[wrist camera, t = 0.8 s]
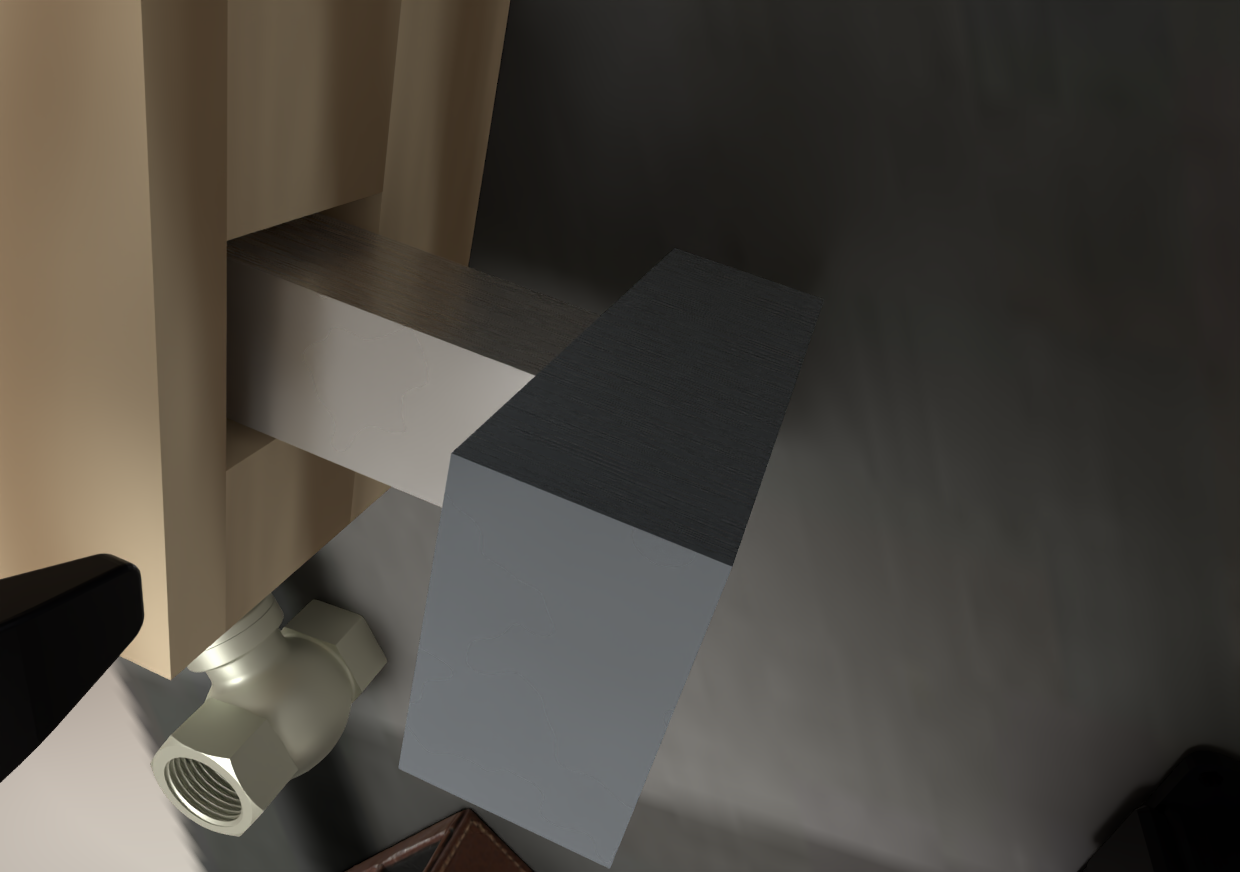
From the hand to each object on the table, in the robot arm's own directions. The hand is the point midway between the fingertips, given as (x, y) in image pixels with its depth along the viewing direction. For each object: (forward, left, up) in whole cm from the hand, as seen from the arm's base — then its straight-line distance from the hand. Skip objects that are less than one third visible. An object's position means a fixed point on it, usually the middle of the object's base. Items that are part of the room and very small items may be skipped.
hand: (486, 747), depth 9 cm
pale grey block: (+7, 0, -10) cm, 12 cm away
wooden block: (+9, 0, -13) cm, 16 cm away
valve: (+12, +12, -13) cm, 21 cm away
